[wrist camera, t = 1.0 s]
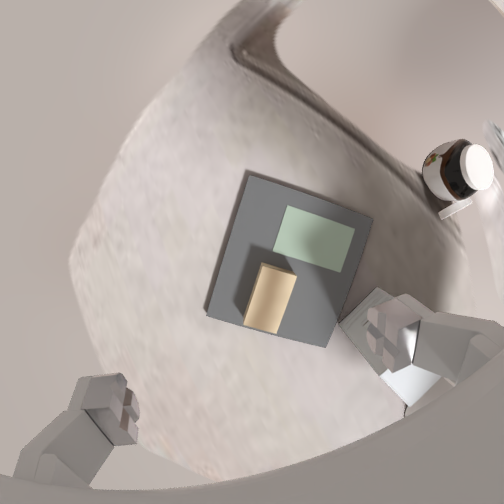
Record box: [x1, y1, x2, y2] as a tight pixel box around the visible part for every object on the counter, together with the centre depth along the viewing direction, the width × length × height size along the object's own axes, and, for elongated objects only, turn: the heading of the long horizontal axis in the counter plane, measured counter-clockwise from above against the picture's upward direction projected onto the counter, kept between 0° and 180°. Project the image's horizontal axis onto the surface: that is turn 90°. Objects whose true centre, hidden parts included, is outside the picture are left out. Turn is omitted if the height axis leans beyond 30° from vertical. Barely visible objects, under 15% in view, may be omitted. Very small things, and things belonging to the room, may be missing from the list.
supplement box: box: [339, 287, 442, 407], centre depth 38 cm, size 10×9×17 cm
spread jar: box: [422, 139, 494, 220], centre depth 37 cm, size 12×11×12 cm
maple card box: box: [243, 262, 297, 334], centre depth 43 cm, size 5×9×3 cm, turn 162°
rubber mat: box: [206, 175, 373, 348], centre depth 44 cm, size 20×22×1 cm
